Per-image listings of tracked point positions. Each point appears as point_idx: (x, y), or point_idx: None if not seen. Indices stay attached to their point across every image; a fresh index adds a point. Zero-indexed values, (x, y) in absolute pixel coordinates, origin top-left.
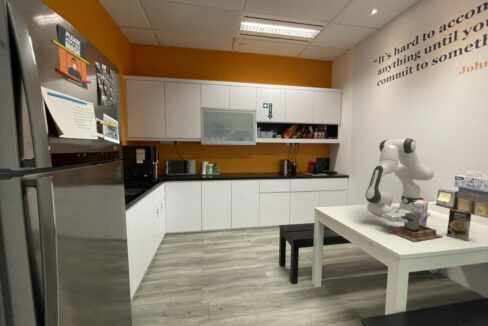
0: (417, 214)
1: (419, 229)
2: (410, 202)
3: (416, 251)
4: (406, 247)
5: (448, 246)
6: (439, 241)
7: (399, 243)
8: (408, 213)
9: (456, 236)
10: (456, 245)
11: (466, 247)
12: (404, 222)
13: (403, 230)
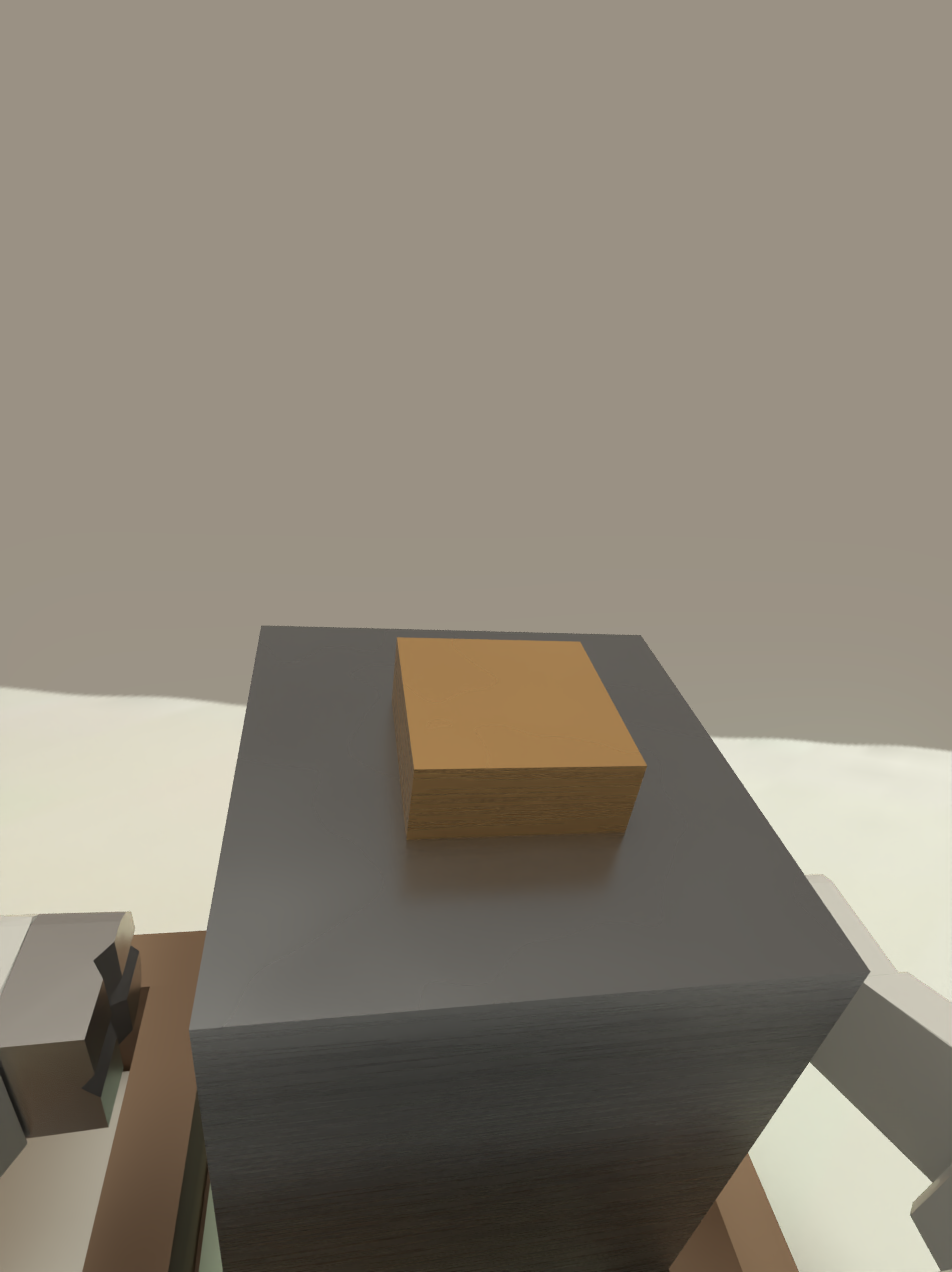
0: (258, 686)
1: (154, 1098)
2: None
3: (790, 755)
4: (869, 837)
5: (219, 747)
6: (103, 873)
7: (929, 948)
8: (649, 882)
9: None
10: (47, 741)
11: (6, 690)
12: (671, 1252)
13: (706, 1215)
